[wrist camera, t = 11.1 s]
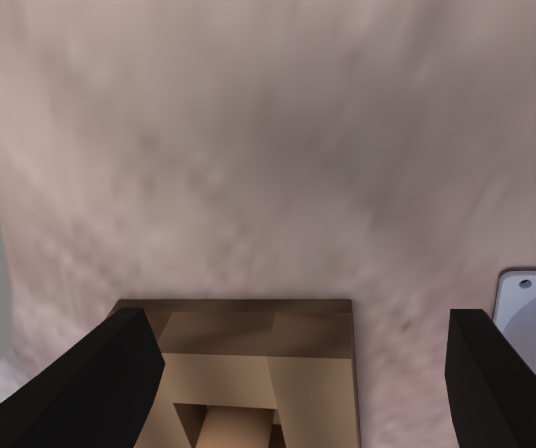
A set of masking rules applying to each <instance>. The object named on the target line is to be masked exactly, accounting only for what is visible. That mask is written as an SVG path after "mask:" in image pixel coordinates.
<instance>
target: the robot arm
mask: <svg viewBox="0 0 536 448" xmlns="http://www.w3.org/2000/svg"><path fill="white" fill-rule="evenodd" d="M523 280H528V281H527V282H525V283H520V282H521V281H523ZM165 364H166V363H165V361H164V358H163V356H162V353H161V351H160V348H159V346H158V343H157V341H156V338H155V336H154V333H153V331H152V328H151V326H150V323H149V321H148V318H147V316H146V313H145V311H144V308H134V307H122V308H120V309H119V310H117V311H116V312H115V313H113V314H112V315H111V316H110V317H108V318H107V319H106V320H104V321H103V322H102V323H101V324H100V325H98V326H97V327H96V328H95V329H93V330H92V331H91V332H90V333H89V334H87V335H86V336H85V337H84V338H83V339H81V340H80V341H79V342H78V343H76V344H75V345H74V346H73V347H72V348H70V349H69V350H68V351H67V352H66V353H64V354H63V355H62V356H61V357H59V358H58V359H57V360H56V361H54V362H53V363H52V364H51V365H50V366H48V367H47V368H46V369H45V370H43V371H42V372H41V373H40V374H38V375H37V376H36V377H34V378H33V379H32V380H31V381H29V382H28V383H27V384H25V385H24V386H23V387H21V388H20V389H19V390H17V391H16V392H15V393H14V394H12V395H11V396H10V397H8V398H7V399H6V400H4V401H3V402H2V403H1V404H0V448H134V446H135V444H136V442H137V439H138V437H139V435H140V433H141V431H142V428H143V426H144V424H145V422H146V419H147V417H148V415H149V413H150V410H151V408H152V406H153V403H154V400H155V397H156V394H157V391H158V388H159V385H160V381H161V378H162V374H163V371H164V368H165ZM445 380H446V386H447V392H448V399H449V405H450V410H451V416H452V422H453V425H454V429H455V433H456V436H457V440H458V444H459V447H460V448H536V271H510V272H507V273H504V274H503V275H502V276H501V278H500V280H499V287H498V293H497V299H496V305H495V311H494V318H493V321H492V320H491V318H490V317H489V316H488V314H487V313H486V312H484V311H483V310H482V309H450V320H449V331H448V342H447V353H446V364H445Z"/></svg>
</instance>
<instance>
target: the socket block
mask: <svg viewBox="0 0 536 448" xmlns="http://www.w3.org/2000/svg"><path fill="white" fill-rule="evenodd" d="M122 307H134V308H144V311H145V313H146V316H147V318H148V321H149V323H150V326H151V328H152V331H153V333H154V336H155V338H156V341H157V343H158V346H159V348H160V351H161V353H162V356H163V358H164V361H165V363H166V364H165V368H164V371H163V374H162V378H161V381H160V385H159V388H158V391H157V394H156V397H155V400H154V403H153V406H152V408H151V410H150V413H149V415H148V417H147V419H146V422H145V424H144V426H143V428H142V431H141V433H140V435H139V437H138V439H137V442H136V444H135V446H134V447H135V448H196V445H197V442H198V439H199V436H200V433H201V429H202V426H203V423H204V420H205V417H206V414H207V411H208V408H209V405H219V406H235V407H252V408H268V409H275V413H274V418H273V424H272V429H271V435H270V441H269V446H268V448H361V434H360V419H359V404H358V390H357V375H356V360H355V345H354V330H353V315H352V300H118V302H117V303H116V304H115V306H114V307H113V309H112V310H111V312H110V313H109V314H108V316H107V317H106V319H107V318H108V317H110V316H111V315H112V314H113V313H115V312H116V311H117V310H119V309H120V308H122ZM106 319H105V320H106Z"/></svg>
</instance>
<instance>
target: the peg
mask: <svg viewBox="0 0 536 448" xmlns="http://www.w3.org/2000/svg"><path fill="white" fill-rule="evenodd" d="M274 413H275V409H268V408H252V407H235V406H219V405H209V408H208V411H207V414H206V417H205V420H204V423H203V426H202V429H201V433H200V436H199V439H198V442H197V445H196V448H268V446H269V441H270V435H271V429H272V424H273V418H274Z"/></svg>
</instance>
